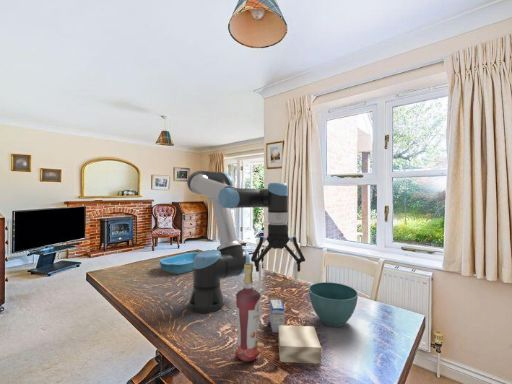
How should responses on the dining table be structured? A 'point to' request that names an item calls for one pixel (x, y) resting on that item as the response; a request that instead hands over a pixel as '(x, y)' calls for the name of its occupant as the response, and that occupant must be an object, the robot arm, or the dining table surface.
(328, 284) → the plant pot
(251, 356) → the liquor
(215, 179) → the robot arm
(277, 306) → the medicine box
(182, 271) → the casserole dish
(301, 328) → the birch block
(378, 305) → the dining table surface
